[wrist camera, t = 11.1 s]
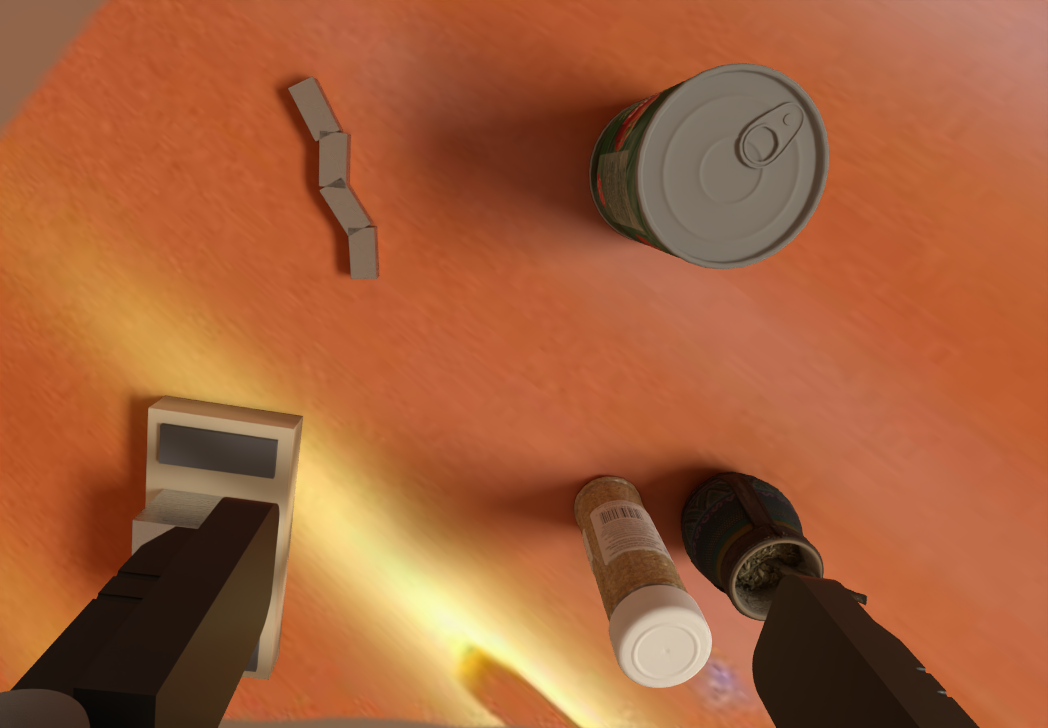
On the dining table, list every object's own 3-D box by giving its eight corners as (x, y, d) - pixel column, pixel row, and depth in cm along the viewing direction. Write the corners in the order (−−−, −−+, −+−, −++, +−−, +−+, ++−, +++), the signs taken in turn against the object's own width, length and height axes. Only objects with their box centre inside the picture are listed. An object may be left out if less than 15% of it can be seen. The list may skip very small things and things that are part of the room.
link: (164, 488, 37) (132, 520, 33) (269, 502, 37) (248, 534, 34) (159, 602, 39) (129, 643, 35) (258, 614, 39) (238, 654, 36)
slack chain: (291, 85, 33) (285, 82, 32) (333, 75, 33) (329, 72, 32) (352, 282, 36) (348, 285, 35) (390, 273, 36) (388, 276, 35)
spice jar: (565, 528, 42) (605, 686, 29) (582, 467, 40) (631, 603, 28) (631, 539, 42) (698, 698, 29) (649, 479, 41) (728, 618, 28)
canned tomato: (647, 271, 37) (714, 309, 26) (559, 168, 35) (595, 165, 24) (752, 176, 36) (867, 177, 25) (668, 64, 34) (755, 14, 23)
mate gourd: (662, 470, 41) (722, 559, 31) (774, 447, 41) (867, 528, 32) (674, 563, 43) (733, 673, 33) (780, 541, 43) (869, 644, 34)
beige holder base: (165, 395, 37) (83, 453, 29) (302, 416, 38) (258, 476, 30) (155, 644, 42) (84, 749, 34) (278, 657, 43) (234, 761, 35)
